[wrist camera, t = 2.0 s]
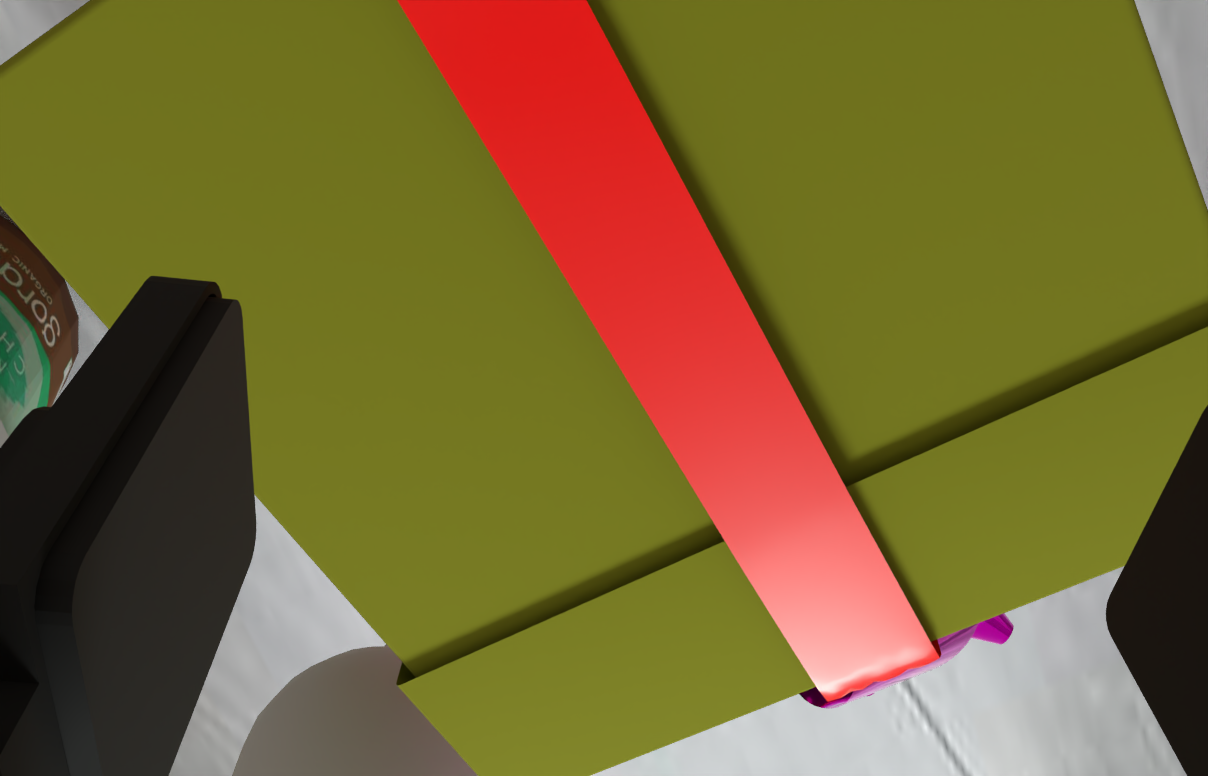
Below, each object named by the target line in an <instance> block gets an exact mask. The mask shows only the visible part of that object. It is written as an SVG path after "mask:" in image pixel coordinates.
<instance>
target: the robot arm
mask: <svg viewBox="0 0 1208 776" xmlns="http://www.w3.org/2000/svg"><path fill="white" fill-rule="evenodd" d="M255 539H256V513H255V497H254V482H253V467H252V452H251V437H250V422H249V406H248V391H247V376H246V361H245V346H244V331H243V316H242V309H241V305H240V303H239V301H238V300H235V299H225V298H222V294H221V291H220V288H219V286H218V284H217V283H216V282H211V281H202V280H192V279H182V278H172V277H162V276H150V277H149V278H148V279H147V280H146V281H145V282H144V283H143V285H142V286H141V287H140V289H139V290H138V291H137V293H136V294H135V295H134V297H133V298H132V299H131V301H130V302H129V304H128V305H127V306H126V308H125V309H124V310H123V312H122V313H121V314H120V316H119V317H118V318H117V320H116V321H115V322H114V324H113V325H112V326H111V328H110V329H109V330H108V332H107V333H106V334H105V336H104V337H103V338H102V340H101V341H100V342H99V344H98V345H97V346H96V348H95V349H94V351H93V352H92V353H91V355H90V356H89V357H88V359H87V360H86V361H85V363H84V364H83V365H82V367H81V368H80V369H79V371H78V372H77V373H76V375H75V376H74V377H73V379H72V380H71V381H70V383H69V384H68V385H67V387H66V388H65V389H64V391H63V392H62V394H61V395H60V396H59V398H58V399H57V400H56V402H55V403H54V404H53V406H52V407H46V406H43V407H39V408H35V409H33V410H32V411H31V412H30V413H28V414H27V415H26V416H25V417H24V418H23V419H22V420H21V422H20V423H19V424H18V426H17V427H16V428H15V429H14V431H13V432H12V433H11V435H10V436H9V437H8V439H7V440H6V441H5V442H4V444H3V445H2V446H1V448H0V776H168V775H169V773H170V770H171V768H172V765H173V763H174V760H175V757H176V755H177V752H178V750H179V747H180V744H181V742H182V739H183V737H184V734H185V731H186V729H187V726H188V724H189V721H190V719H191V716H192V713H193V711H194V708H195V706H196V703H197V700H198V698H199V695H200V693H201V690H202V687H203V685H204V682H205V680H206V677H207V674H208V672H209V669H210V667H211V664H212V662H213V659H214V656H215V654H216V651H217V649H218V646H219V643H220V641H221V638H222V636H223V633H224V630H225V628H226V625H227V623H228V620H229V618H230V615H231V612H232V610H233V607H234V605H235V602H236V599H237V597H238V594H239V592H240V589H241V586H242V584H243V581H244V579H245V576H246V574H247V571H248V568H249V566H250V563H251V560H252V556H253V552H254V546H255ZM1106 621H1107V626H1108V630H1109V632H1110V635H1111V637H1112V639H1113V641H1114V643H1115V644H1116V646H1117V648H1118V650H1119V652H1120V654H1121V655H1122V657H1123V659H1124V661H1125V663H1126V664H1127V666H1128V668H1129V670H1130V672H1131V674H1132V675H1133V677H1134V679H1135V681H1136V683H1137V685H1138V686H1139V688H1140V690H1141V692H1142V694H1143V696H1144V697H1145V699H1146V701H1147V703H1148V705H1149V707H1150V708H1151V710H1152V712H1153V714H1154V716H1155V718H1156V719H1157V721H1158V723H1159V725H1160V727H1161V729H1162V730H1163V732H1164V734H1165V736H1166V738H1167V740H1168V741H1169V743H1170V745H1171V747H1172V749H1173V751H1174V752H1175V754H1176V756H1177V758H1178V760H1179V762H1180V763H1181V765H1182V767H1183V769H1184V771H1185V772H1186V774H1187V776H1208V405H1207V407H1206V408H1205V410H1204V411H1203V413H1202V414H1201V416H1200V418H1199V420H1198V422H1197V424H1196V426H1195V428H1194V430H1193V432H1192V434H1191V436H1190V438H1189V440H1188V442H1187V444H1186V446H1185V448H1184V450H1183V452H1182V454H1181V456H1180V458H1179V460H1178V462H1177V464H1176V466H1175V468H1174V470H1173V472H1172V474H1171V476H1170V478H1169V480H1168V482H1167V484H1166V486H1165V488H1164V489H1163V491H1162V493H1161V495H1160V497H1159V499H1158V501H1157V503H1156V505H1155V507H1154V509H1153V511H1152V513H1151V515H1150V517H1149V519H1148V521H1147V523H1146V525H1145V527H1144V529H1143V531H1142V533H1141V535H1140V537H1139V539H1138V541H1137V543H1136V545H1135V547H1134V549H1133V551H1132V553H1131V555H1130V557H1129V559H1128V561H1127V562H1126V564H1125V566H1124V568H1123V570H1122V572H1121V574H1120V576H1119V578H1118V580H1117V582H1116V584H1115V586H1114V588H1113V590H1112V592H1111V594H1110V596H1109V599H1108V602H1107V608H1106Z"/></svg>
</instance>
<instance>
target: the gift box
mask: <svg viewBox="0 0 1208 776" xmlns="http://www.w3.org/2000/svg"><path fill="white" fill-rule="evenodd" d="M0 206H1V207H2V209H3V210H4V211H5V212H6V213H7V214H8V215H9V217H10V218H11V219H12V220H13V221H14V222H15V223H16V224H17V226H18V227H19V228H20V229H21V230H22V231H23V232H24V234H25V235H26V236H27V237H28V238H29V239H30V240H31V241H32V243H33V244H34V245H35V246H36V247H37V248H38V249H39V251H40V252H41V253H42V254H43V255H44V256H45V257H46V258H47V260H48V261H49V262H50V263H51V264H52V265H53V266H54V268H55V269H56V270H57V271H58V272H59V273H60V274H61V275H62V277H63V278H64V279H65V280H66V281H67V282H68V283H69V285H70V286H71V287H72V288H73V289H74V290H75V291H76V293H77V294H78V295H79V296H80V297H81V298H82V299H83V300H84V302H85V303H86V304H87V305H88V306H89V307H90V308H91V310H92V311H93V312H94V313H95V314H96V315H97V316H98V317H99V319H100V320H101V321H102V322H103V323H104V324H105V325H106V327H107V328H108V329H110V328H111V326H112V325H113V324H114V322H115V321H116V320H117V318H118V317H119V316H120V314H121V313H122V312H123V310H124V309H125V308H126V306H127V305H128V304H129V302H130V301H131V299H132V298H133V297H134V295H135V294H136V293H137V291H138V290H139V289H140V287H141V286H142V285H143V283H144V282H145V281H146V280H147V279H148V278H149V277H150V276H162V277H172V278H182V279H192V280H202V281H211V282H216V283H217V284H218V286H219V288H220V291H221V294H222V298H225V299H235V300H238V301H239V303H240V305H241V309H242V316H243V331H244V346H245V361H246V376H247V391H248V406H249V422H250V437H251V452H252V467H253V482H254V494H255V496H256V497H257V498H258V499H259V500H260V501H261V502H262V503H263V505H264V506H265V507H266V508H267V509H268V510H269V511H270V513H271V514H272V515H273V516H274V517H275V518H276V519H277V520H278V522H279V523H280V524H281V525H282V526H283V527H284V528H285V530H286V531H287V532H288V533H289V534H290V535H291V536H292V537H293V539H294V540H295V541H296V542H297V543H298V544H299V545H300V547H301V548H302V549H303V550H304V551H305V552H306V553H307V554H308V556H309V557H310V558H311V559H312V560H313V561H314V562H315V564H316V565H317V566H318V567H319V568H320V569H321V570H322V571H323V573H324V574H325V575H326V576H327V577H328V578H329V579H330V581H331V582H332V583H333V584H334V585H335V586H336V587H337V589H338V590H339V591H340V592H341V593H342V594H343V595H344V596H345V598H346V599H347V600H348V601H349V602H350V603H351V604H352V606H353V607H354V608H355V609H356V610H357V611H358V612H359V613H360V615H361V616H362V617H363V618H364V619H365V620H366V621H367V623H368V624H369V625H370V626H371V627H372V628H373V629H374V630H375V632H376V633H377V634H378V635H379V636H380V637H381V638H382V640H383V641H384V642H385V643H386V644H387V645H388V646H389V647H390V649H391V650H392V651H393V652H394V653H395V654H396V655H397V657H398V658H399V659H400V660H401V661H402V664H401V668H400V671H399V675H398V678H397V682H396V685H397V686H398V687H399V688H400V689H401V690H402V692H403V693H404V694H405V695H406V696H407V697H408V698H409V699H410V700H411V702H412V703H413V704H414V705H415V706H416V707H417V708H418V709H419V711H420V712H421V713H422V714H423V715H424V716H425V717H426V718H427V719H428V721H429V722H430V723H431V724H432V725H433V726H434V727H435V728H436V730H437V731H438V732H439V733H440V734H441V735H442V736H443V737H444V738H445V740H446V741H447V742H448V743H449V744H450V745H451V746H452V747H453V748H454V750H455V751H456V752H457V753H458V754H459V755H460V756H461V757H462V759H463V760H464V761H465V762H466V763H467V764H468V765H469V766H470V767H471V769H472V770H473V771H474V772H475V773H476V774H477V775H478V776H590V775H593V774H595V773H598V772H600V771H603V770H605V769H608V768H611V767H613V766H616V765H618V764H621V763H623V762H626V761H628V760H631V759H634V758H636V757H639V756H641V755H644V754H646V753H649V752H651V751H654V750H656V749H659V748H662V747H664V746H667V745H669V744H672V743H674V742H677V741H679V740H682V739H684V738H687V737H690V736H692V735H695V734H697V733H700V732H702V731H705V730H707V729H710V728H712V727H715V726H718V725H720V724H723V723H725V722H728V721H730V720H733V719H735V718H738V717H740V716H743V715H746V714H748V713H751V712H753V711H756V710H758V709H761V708H763V707H766V706H769V705H771V704H774V703H776V702H779V701H781V700H784V699H786V698H789V697H791V696H794V695H797V694H800V695H801V696H802V697H803V698H804V699H805V700H806V701H808V702H809V703H811V704H813V705H815V706H818V707H821V708H836V707H839V706H842V705H844V704H847V703H849V702H852V701H854V700H857V699H859V698H862V697H865V696H870V695H872V694H874V693H875V692H877V691H880V690H882V689H885V688H887V687H890V686H893V685H895V684H898V683H900V682H903V681H905V680H908V679H910V678H913V677H916V676H918V675H921V674H923V673H926V672H928V671H931V670H933V669H935V668H937V667H939V666H941V665H943V664H945V663H946V662H948V661H949V660H950V659H952V658H953V657H954V656H955V655H957V654H958V653H959V652H960V651H961V650H962V649H963V648H964V646H965V645H966V644H967V643H968V641H969V640H970V638H974V639H978V640H983V641H987V642H992V643H996V644H1003V643H1004V642H1006V641H1007V639H1008V638H1009V637H1010V635H1011V633H1012V631H1013V624H1012V623H1011V622H1010V620H1009V619H1008V618H1007V616H1006V615H1005V614H1004V613H1005V612H1008V611H1010V610H1013V609H1016V608H1018V607H1021V606H1023V605H1026V604H1028V603H1031V602H1033V601H1036V600H1038V599H1041V598H1044V597H1046V596H1049V595H1051V594H1054V593H1056V592H1059V591H1061V590H1064V589H1067V588H1069V587H1072V586H1074V585H1077V584H1079V583H1082V582H1084V581H1087V580H1089V579H1092V578H1095V577H1097V576H1100V575H1102V574H1105V573H1107V572H1110V571H1112V570H1115V569H1117V568H1120V567H1123V566H1125V564H1126V562H1127V561H1128V559H1129V557H1130V555H1131V553H1132V551H1133V549H1134V547H1135V545H1136V543H1137V541H1138V539H1139V537H1140V535H1141V533H1142V531H1143V529H1144V527H1145V525H1146V523H1147V521H1148V519H1149V517H1150V515H1151V513H1152V511H1153V509H1154V507H1155V505H1156V503H1157V501H1158V499H1159V497H1160V495H1161V493H1162V491H1163V489H1164V488H1165V486H1166V484H1167V482H1168V480H1169V478H1170V476H1171V474H1172V472H1173V470H1174V468H1175V466H1176V464H1177V462H1178V460H1179V458H1180V456H1181V454H1182V452H1183V450H1184V448H1185V446H1186V444H1187V442H1188V440H1189V438H1190V436H1191V434H1192V432H1193V430H1194V428H1195V426H1196V424H1197V422H1198V420H1199V418H1200V416H1201V414H1202V413H1203V411H1204V410H1205V408H1206V407H1207V405H1208V210H1207V207H1206V204H1205V201H1204V198H1203V195H1202V192H1201V190H1200V187H1199V184H1198V181H1197V178H1196V175H1195V172H1194V170H1193V167H1192V164H1191V161H1190V158H1189V155H1188V153H1187V150H1186V147H1185V144H1184V141H1183V138H1182V135H1181V133H1180V130H1179V127H1178V124H1177V121H1176V118H1175V115H1174V113H1173V110H1172V107H1171V104H1170V101H1169V98H1168V95H1167V93H1166V90H1165V87H1164V84H1163V81H1162V78H1161V76H1160V73H1159V70H1158V67H1157V64H1156V61H1155V58H1154V56H1153V53H1152V50H1151V47H1150V44H1149V41H1148V38H1147V36H1146V33H1145V30H1144V27H1143V24H1142V21H1141V18H1140V16H1139V13H1138V10H1137V7H1136V4H1135V1H1134V0H90V1H89V2H87V3H86V4H84V5H83V6H82V7H80V8H79V9H78V10H76V11H75V12H73V13H72V14H71V15H69V16H68V17H66V18H65V19H64V20H62V21H61V22H60V23H58V24H57V25H55V26H54V27H53V28H51V29H50V30H49V31H47V32H46V33H44V34H43V35H42V36H40V37H39V38H38V39H36V40H35V41H33V42H32V43H31V44H29V45H28V46H27V47H25V48H24V49H22V50H21V51H20V52H18V53H17V54H15V55H14V56H13V57H11V58H10V59H9V60H7V61H6V62H4V63H3V64H2V65H0Z"/></svg>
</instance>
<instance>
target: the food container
mask: <svg viewBox="0 0 1208 776" xmlns="http://www.w3.org/2000/svg"><path fill="white" fill-rule="evenodd" d="M77 354H78V315H77V312H76V309H75V307H74V304H73V301H72V298H71V296H70V293H69V290H68V287H67V285H66V282H65V280H64V278H63V277H62V276H61V274H60V273H59V272H58V271H57V270H56V269H55V268H54V266H53V265H52V264H51V263H50V262H49V261H48V260H47V258H46V257H45V256H44V255H43V254H42V253H41V252H40V251H39V249H38V248H37V247H36V246H35V245H34V244H33V243H32V241H31V240H30V239H29V238H28V237H27V236H26V235H25V234H24V232H23V231H21V230H20V229H19V228H18V227H16V226H15V225H14V224H12V223H11V222H10V221H8V220H7V219H5V218H3V217H2V216H0V448H1V446H2V445H3V444H4V442H5V441H6V440H7V439H8V437H9V436H10V435H11V433H12V432H13V431H14V429H15V428H16V427H17V426H18V424H19V423H20V422H21V420H22V419H23V418H24V417H25V416H26V415H27V414H28V413H30V412H31V411H32V410H33V409H35V408H39V407H43V406H46V407H52V406H53V404H54V402H55V400H56V398H57V396H58V395H59V393H60V391H61V389H62V387H63V386H64V384H65V382H66V380H67V377H68V375H69V373H70V370H71V368H72V366H73V364H74V361H75V359H76V357H77Z"/></svg>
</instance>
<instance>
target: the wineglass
mask: <svg viewBox="0 0 1208 776" xmlns="http://www.w3.org/2000/svg"><path fill="white" fill-rule="evenodd" d="M401 664H402V661H401V660H400V659H399V658H398V657H397V655H396V654H395V653H394V652H393V651H392V650H391V649H390V647H389V646H388V645H387V644H386V645H385V646H384V647H367V648H360V649H353V650H350V651H347V652H344V653H342V654H339V655H336V656H334V657H331V658H329V659H327V660H325V661H322V662H320V663H318V664H316V665H313V666H311V667H310V668H308V669H307V670H305V671H303V672H302V673H300V674H299V675H297V676H296V677H294V678H293V679H292V680H291V681H290V682H289V683H288V684H287V685H286V686H285V687H284V688H283V689H282V690H281V691H280V692H279V693H278V694H277V695H276V696H275V697H274V698H273V699H272V701H271V702H270V703H269V704H268V705H267V706H266V707H265V709H264V710H263V711H262V712H261V713H260V714H259V715H258V717H257V719H256V721H255V723H254V725H253V727H252V729H251V731H250V733H249V735H248V737H247V739H246V741H245V743H244V746H243V748H242V751H241V753H240V756H239V758H238V761H237V763H236V766H235V769H234V772H233V775H232V776H478V775H477V774H476V773H475V772H474V771H473V770H472V769H471V767H470V766H469V765H468V764H467V763H466V762H465V761H464V760H463V759H462V757H461V756H460V755H459V754H458V753H457V752H456V751H455V750H454V748H453V747H452V746H451V745H450V744H449V743H448V742H447V741H446V740H445V738H444V737H443V736H442V735H441V734H440V733H439V732H438V731H437V730H436V728H435V727H434V726H433V725H432V724H431V723H430V722H429V721H428V719H427V718H426V717H425V716H424V715H423V714H422V713H421V712H420V711H419V709H418V708H417V707H416V706H415V705H414V704H413V703H412V702H411V700H410V699H409V698H408V697H407V696H406V695H405V694H404V693H403V692H402V690H401V689H400V688H399V687H398V686H397V685H396V682H397V678H398V675H399V671H400V668H401Z"/></svg>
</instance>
